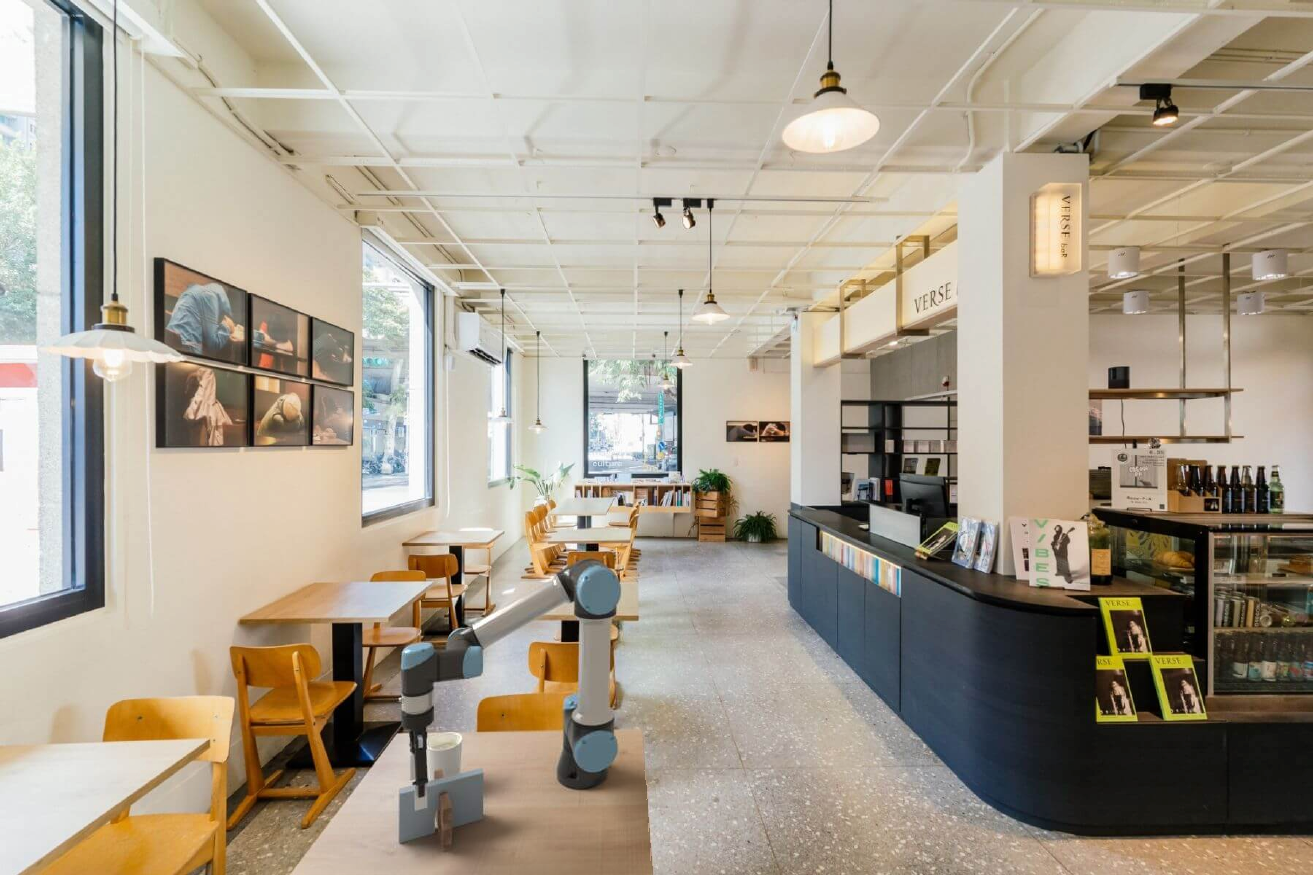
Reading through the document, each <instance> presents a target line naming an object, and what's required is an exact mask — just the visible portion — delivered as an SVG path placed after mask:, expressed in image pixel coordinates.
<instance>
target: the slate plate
mask: <svg viewBox="0 0 1313 875" xmlns="http://www.w3.org/2000/svg"><path fill="white" fill-rule="evenodd" d="M484 775H485V774H484V770H483V768H482V767H480V768H477V769H476V768H475V769H472V770H469V771H464V772H460V774H456V775H452V776H448V777H444V778H440V779H436V780H432V781H428V783H427V808H424V809H420V810H417V811H415V785H413V786H412V785H409V786H405V787H400V788H398V836H397V837H398V844H402V843H405V842H409V841H411V840H415V839H419V838H422V837H425V836H430V835H433V834H435V833H436V832H435V831H436V817H435V812H436V811H439V794H440V793H444V792H448V794H449V798H450V802H451V806H452V829H453V828H457V827H461V826H464V825H466V824H470V823H474V822H478V821H481V820H483V819H484Z"/></svg>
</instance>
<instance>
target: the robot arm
mask: <svg viewBox="0 0 1313 875" xmlns="http://www.w3.org/2000/svg"><path fill="white" fill-rule="evenodd" d="M621 594H622V587H621V583H620V580H619V578H618V576H617V574H616V573H615V572H614V570H612V569H611V568H610V567H608V566H607V565H606V564H605V563H604V562H603V561H601V560H599V559H596V558H592V557H591V558H583V559H581V560H577V561H576V562H574V563H572V564H571V565H569V566H567V567H565V568H563V569H562V570H559V571H558V572H556V573H555V574H554V576H553V578H552V579H551V580H549V581H547V582H546V583H544V584H542V585H540V586H538V587H537V588H535V589H534V590H531V591H530V592H527V593H526V594H524V595H522V596H521V597H519V598H517V599H516V600H514V601H512V602H510V603H509V604H507V605H505V606H503V607H502V608H500V609H497V611H495V612H492V613H491V614H489V615H487V616H485V617H484V618H481V619H480V620H478V621H476V622H474V623H473V624H471V625H469V626H467V627H459V628H456V629H455V630H453V631H452V632H451V633H450V634H449V635H448V638H447V641H446V643H445V649H444V650H435V648H434V645H433V644H432V643H431V642H422V641H421V642H416V643H412V644H409V645H407V646H405V647H404V648H403V650H402V652H401V666H400V674H401V675H400V678H401V682H400V683H401V697H398V702H399V703H401V710H402V711H401V727H402V728H403V730H408V735H409V736H408V737H409V744H408V746H409V752H410V754H409V758H410V759H409V762H410V764H409V771H410V772H409V773H410V775H409V777H410V781H412V784H411V786H413V785H415V811H417V810H420V809H424V808H427V783H428V762H427V741H428V740H427V739H428V731H427V727H430V725H432V724H433V723H434V721H435V707H434V704H435V683H441V682H451V681H452V682H453V681H458V680H459V681H460V680H470V679H474V678H477V677H481V676H482V675H483V673H484V650H485V649H486V648H488V647H490V646H492V645H493V644H495V643H496V642H498V641H500V640H502V639H504V638H506V637H507V636H509V635H511V634H512V633H515V632H516V631H518V630H520V629H521V628H523V627H525V626H526V625H528V624H530V623H532V622H533V621H535V620H538V619H539V618H541V617H543V616H544V615H546V614H547V613H549V612H551V611H553V610H554V609H556V608H558V607H560V606H561V605H563V604H569V605H570V604H572V603H573V605H574V606H573V616H574V617H575V618H576V619H577V620H578V622H579V626H578V627H579V628H578V632H579V633H578V670H577V671H578V672H577V673H578V676H577V679H578V680H577V692H575V693H572V694H570V695H567V696H566V697H565V698H564V701H563V707H562V710H563V711H562V712H563V716H562V718H563V720H562V721H563V722H562V723H563V724H562V726H563V727H562V728H563V730H562V732H563V733H562V734H563V736H562V744H563V745H562V750H561V754H560V757H559V760H558V763H557V767H556V779H557V781H558V782H559V783H560V784H561V785H563V786H564V787H566V788H569V789H574V790H575V789H576V790H579V789H580V790H583V789H589V788H593V787H594V788H595V787H596V786H598V785H600V784H601V783H603V782H604V781H606V779H607V777H609V776H608V775H609V767H610V765H611V764H612V763H613V762H614V761H615V759H616V757H617V755H618V751H619V745H618V738H617V736H616V735H615V711H614V709H613V708H612V707H611V706H610V679H611V677H610V675H611V633H612V631H611V628H612V627H611V624H612V623H611V622H612V620H614V619H615V617H616V616H617V610H618V608H617V607H618V605H619V602H620V599H621V596H622V595H621ZM414 780H415V781H414Z"/></svg>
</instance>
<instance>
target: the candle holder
mask: <svg viewBox="0 0 1313 875" xmlns="http://www.w3.org/2000/svg"><path fill="white" fill-rule="evenodd" d="M463 738H464V737H463V736H462V735H461V734H460V733H458V732H453V731H452V732H451V731H449V732H447V731H446V732H443V733H439V734H436V735H434V736H432V737H430V738H429V739H428V740H427V750H426V753H427V774H428V781H432V780H434V771H436V770H441V769H442V770H443V774H444V777H448V776H452V775H456V774H460V773H461V768H462V767H461V765H462V764H461V763H462V762H461V761H462V752H463V750H462V749H463Z"/></svg>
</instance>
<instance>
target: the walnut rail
mask: <svg viewBox="0 0 1313 875" xmlns="http://www.w3.org/2000/svg"><path fill="white" fill-rule="evenodd" d="M440 778H444V774H443V770H442V769H441V770H436V771H434V780H436V779H440ZM435 822H436V825H437V831H438V836H439V841H440V846H441V851H442V852H446V851H450V850H452V836H453V835H452V832H453V831H452V829H453V828H452V806H451V802H450V798H449V794H448V792H444V793H440V794H439V811H436V812H435Z"/></svg>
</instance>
